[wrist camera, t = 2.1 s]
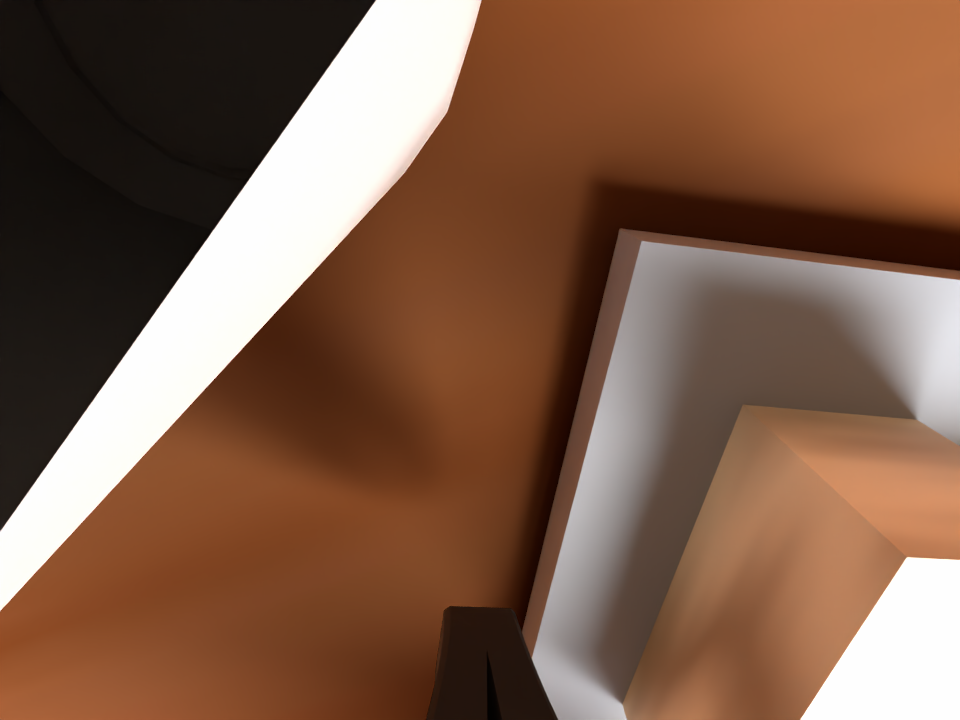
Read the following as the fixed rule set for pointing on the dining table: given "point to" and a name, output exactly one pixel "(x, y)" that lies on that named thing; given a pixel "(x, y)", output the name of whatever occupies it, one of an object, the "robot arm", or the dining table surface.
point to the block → (815, 578)
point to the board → (709, 420)
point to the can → (177, 209)
